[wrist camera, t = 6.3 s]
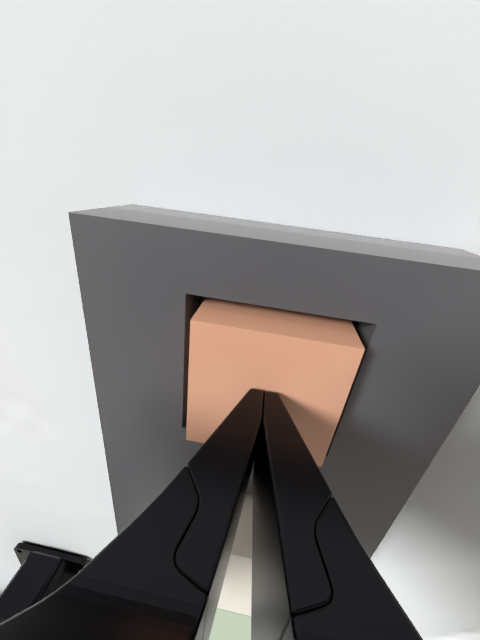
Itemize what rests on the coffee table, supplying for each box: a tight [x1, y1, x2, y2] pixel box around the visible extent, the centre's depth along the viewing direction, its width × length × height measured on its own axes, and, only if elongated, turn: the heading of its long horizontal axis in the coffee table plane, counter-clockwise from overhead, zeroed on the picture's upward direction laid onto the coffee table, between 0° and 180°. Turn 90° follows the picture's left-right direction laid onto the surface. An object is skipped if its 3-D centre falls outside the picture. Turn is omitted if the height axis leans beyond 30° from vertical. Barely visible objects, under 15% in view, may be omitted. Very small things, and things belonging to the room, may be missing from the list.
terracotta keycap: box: [186, 297, 365, 467], centre depth 9 cm, size 5×5×2 cm
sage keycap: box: [209, 608, 251, 640], centre depth 17 cm, size 5×5×2 cm
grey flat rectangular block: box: [68, 205, 480, 558], centre depth 14 cm, size 26×12×4 cm, turn 174°
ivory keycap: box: [217, 494, 253, 616], centre depth 12 cm, size 5×5×2 cm
